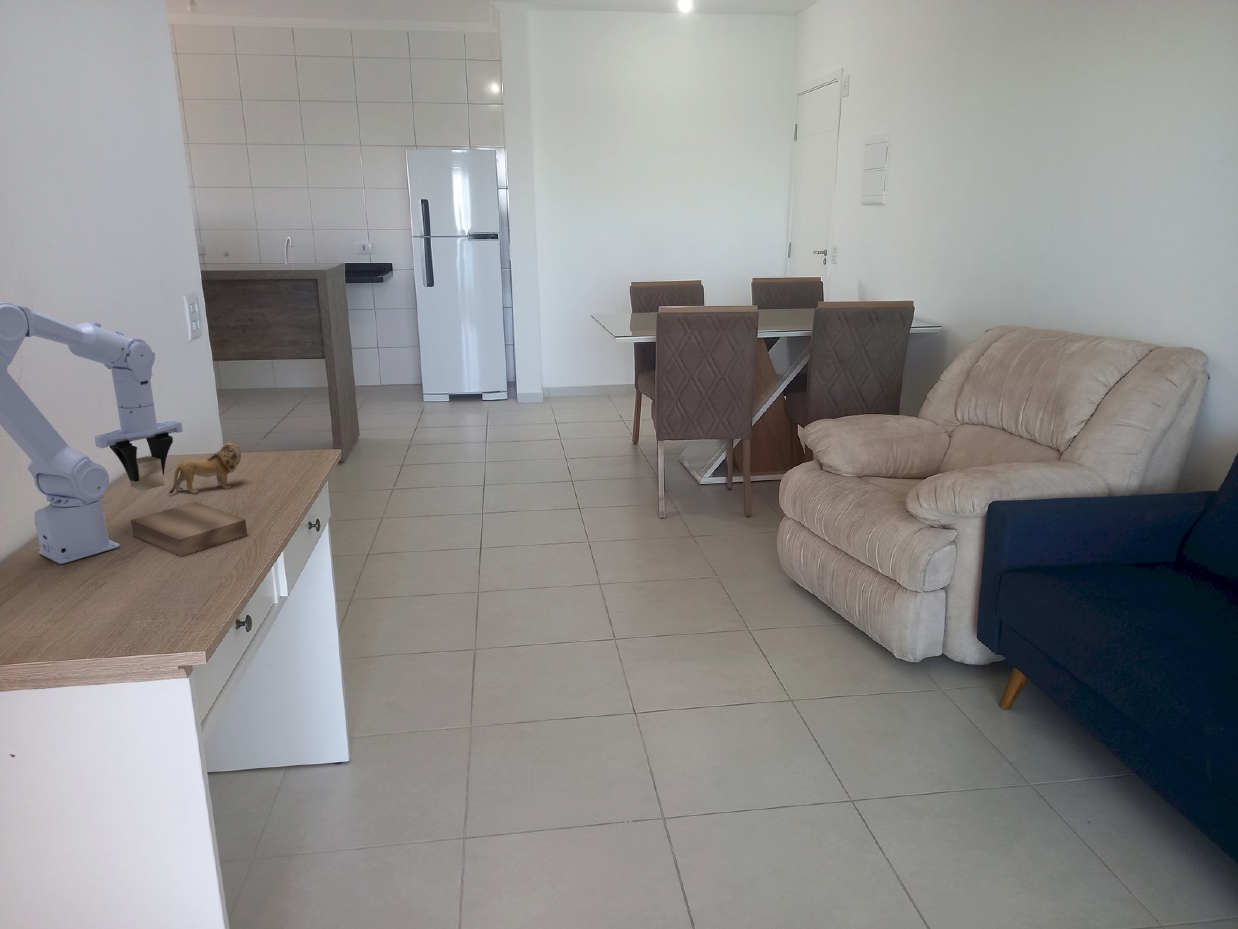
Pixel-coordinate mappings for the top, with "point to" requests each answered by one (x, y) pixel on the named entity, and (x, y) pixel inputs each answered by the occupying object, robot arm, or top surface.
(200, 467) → the lion figurine
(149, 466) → the birch block
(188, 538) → the walnut plinth
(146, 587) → the top surface
